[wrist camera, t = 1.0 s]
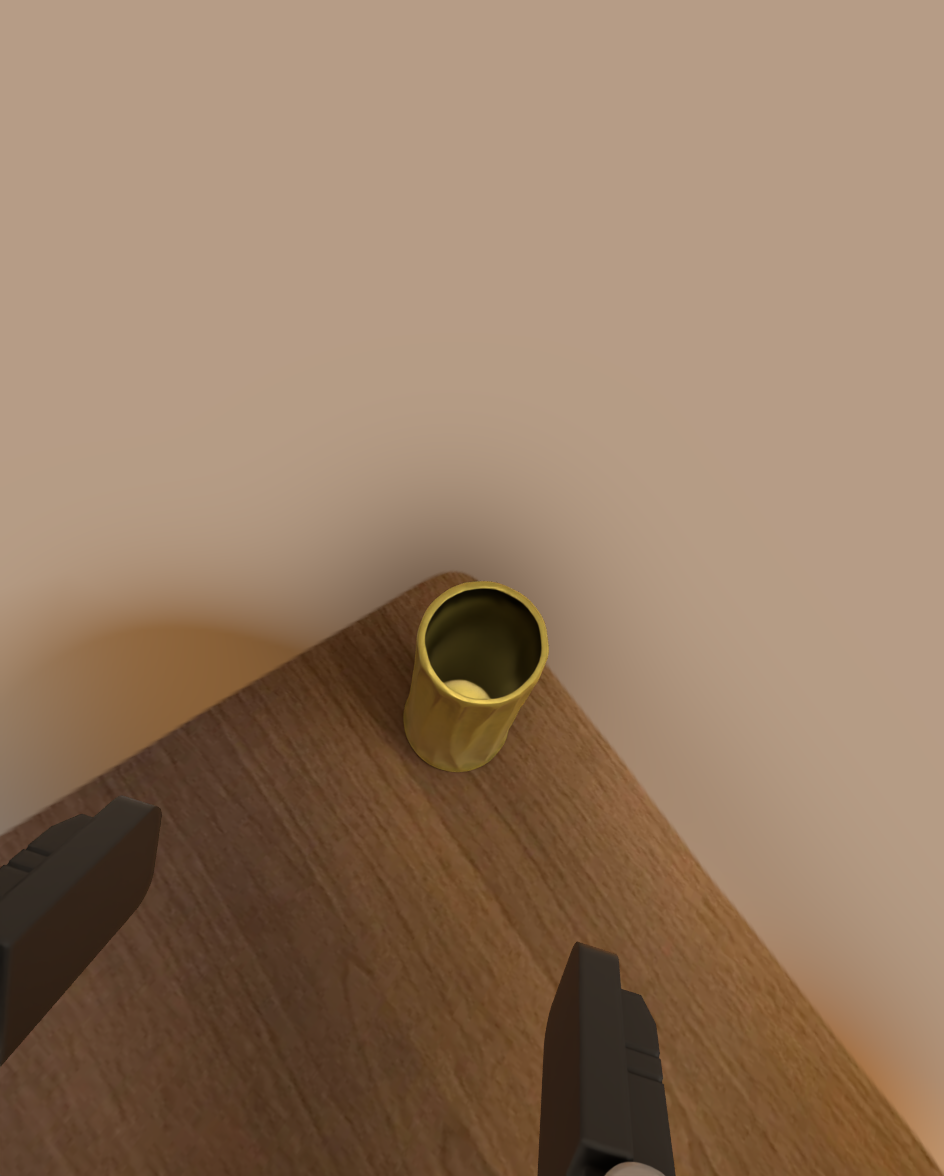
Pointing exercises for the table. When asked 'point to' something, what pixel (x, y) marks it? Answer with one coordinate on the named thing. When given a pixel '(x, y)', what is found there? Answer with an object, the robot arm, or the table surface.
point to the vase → (472, 673)
